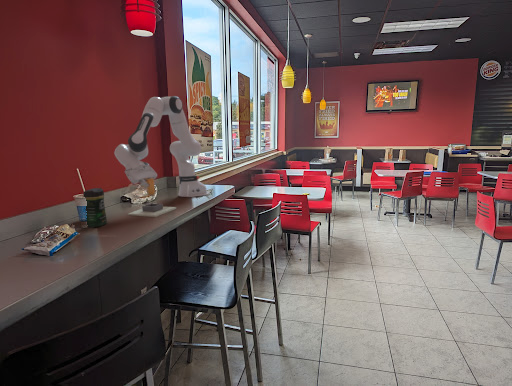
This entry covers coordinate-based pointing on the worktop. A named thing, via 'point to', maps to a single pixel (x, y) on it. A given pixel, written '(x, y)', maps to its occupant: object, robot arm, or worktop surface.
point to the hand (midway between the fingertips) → (151, 185)
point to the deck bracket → (152, 210)
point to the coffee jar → (95, 207)
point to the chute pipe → (151, 188)
